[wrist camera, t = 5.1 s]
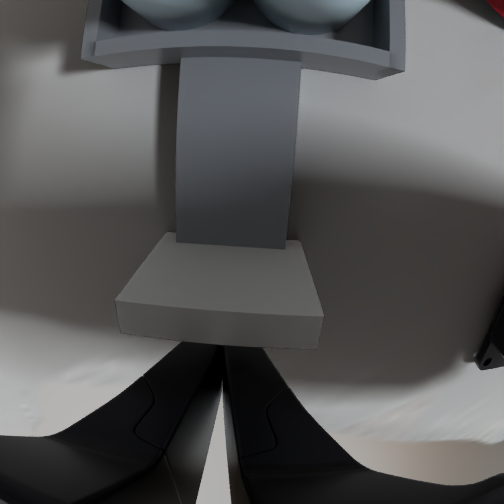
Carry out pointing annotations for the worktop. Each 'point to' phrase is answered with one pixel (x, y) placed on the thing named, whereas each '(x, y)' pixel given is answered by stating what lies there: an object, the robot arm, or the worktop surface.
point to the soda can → (497, 6)
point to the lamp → (235, 167)
